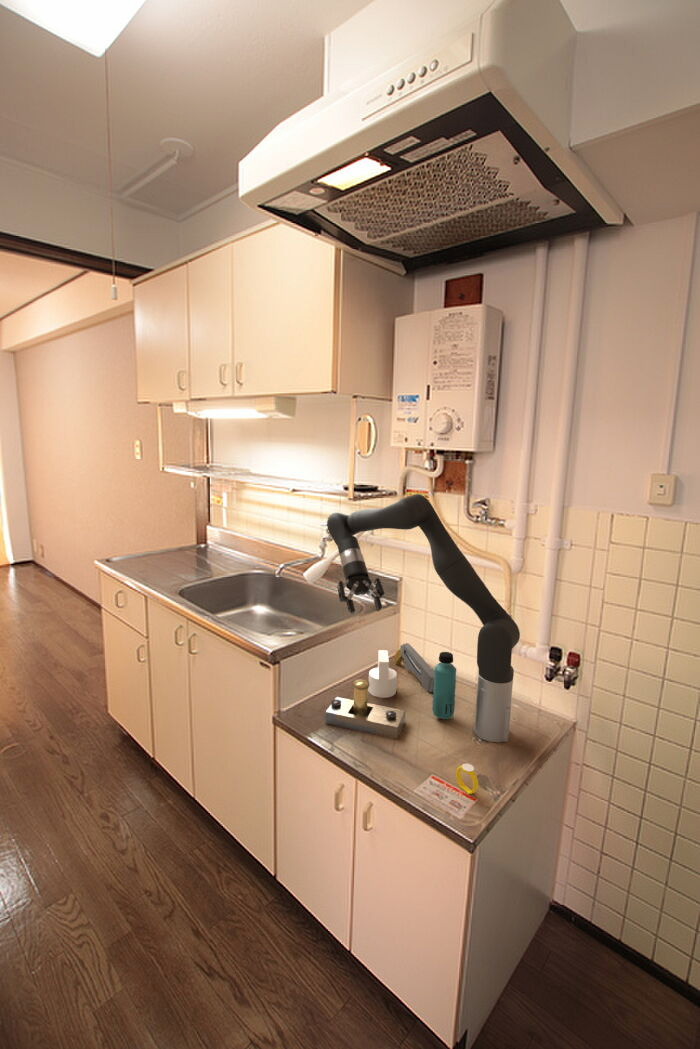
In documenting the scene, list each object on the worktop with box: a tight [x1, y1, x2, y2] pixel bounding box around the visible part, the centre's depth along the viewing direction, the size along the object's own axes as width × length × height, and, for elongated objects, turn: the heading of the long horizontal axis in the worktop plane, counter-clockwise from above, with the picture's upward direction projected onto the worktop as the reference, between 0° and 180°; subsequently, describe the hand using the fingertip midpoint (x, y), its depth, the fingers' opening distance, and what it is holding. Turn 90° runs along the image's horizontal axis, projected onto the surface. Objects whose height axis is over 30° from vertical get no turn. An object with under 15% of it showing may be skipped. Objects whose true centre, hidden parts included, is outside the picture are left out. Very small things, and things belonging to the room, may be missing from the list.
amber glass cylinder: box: [352, 678, 370, 718], centre depth 143 cm, size 5×5×12 cm
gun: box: [393, 642, 435, 693], centre depth 171 cm, size 3×25×15 cm, turn 25°
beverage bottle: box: [431, 651, 457, 720], centre depth 146 cm, size 6×7×20 cm
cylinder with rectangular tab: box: [368, 649, 398, 698], centre depth 162 cm, size 9×9×12 cm
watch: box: [455, 763, 479, 795], centre depth 117 cm, size 6×3×6 cm, turn 31°
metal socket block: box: [324, 696, 406, 740], centre depth 143 cm, size 21×9×5 cm, turn 71°
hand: (366, 611), depth 153 cm, fingers open, 8 cm apart
